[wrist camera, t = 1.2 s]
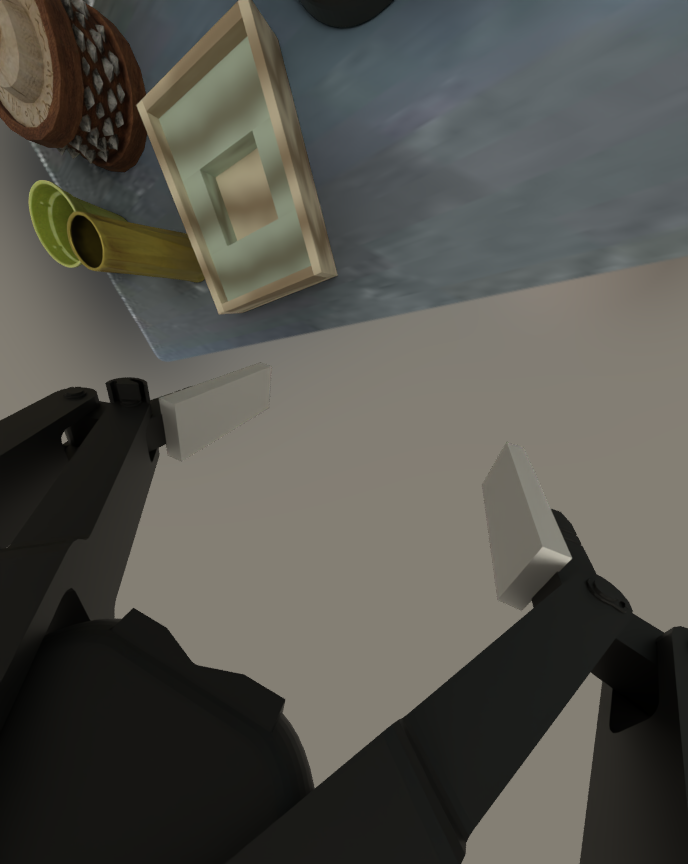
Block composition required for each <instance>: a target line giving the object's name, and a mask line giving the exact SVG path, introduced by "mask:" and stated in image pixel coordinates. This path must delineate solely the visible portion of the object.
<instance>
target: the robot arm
mask: <svg viewBox="0 0 688 864" xmlns="http://www.w3.org/2000/svg"><path fill="white" fill-rule="evenodd" d="M392 1H393V0H300V2H301V3H302V5H303V6H304V7H305V9H306V10H307V11H308V12H309V13H310V14H311V15H312V16H313V17H315V18H316V19H317V20H319V21H320V22H322V23H324V24H327V25H330V26H333V27H351V26H355V25H358V24H361V23H363V22H365V21H368V20H369V19H371V18H373V17H374V16H376V15H377V14H378V13H380V12H381V11H382V10H383V9H384V8H386V7H387V6H388V5H389V4H390V3H391V2H392ZM271 369H272V366H270V365H267V364H263V363H258V364H255V365H252V366H249V367H246V368H243V369H241V370H238V371H235V372H232V373H229V374H226V375H223V376H220V377H218V378H215V379H212V380H209V381H206V382H203V383H200V384H197V385H195V386H190V387H187V388H184V389H182V390H179V391H176V392H174V393H170V394H167V395H164V396H162V397H159V398H156V399H153V400H150V397H149V391H148V386H147V382H146V381H145V380H142V379H139V378H118V379H113V380H110V381H108V382H106V387H107V391H108V395H109V399H110V403H107V402H101V401H99V399H98V395H97V392H96V391H95V390H94V389H90V388H81V387H75V388H74V387H70V388H68V389H63V390H60V391H57V392H55V393H53V394H51V395H49V396H47V397H45V398H43V399H41V400H39V401H37V402H35V403H34V404H31V405H29V406H28V407H26V408H24V409H22V410H20V411H18V412H16V413H14V414H13V415H10V416H8V417H7V418H4V419H2V420H0V864H461V863H462V861H463V859H464V856H465V853H466V842H467V840H468V838H469V836H470V834H471V833H472V831H473V830H474V828H475V827H476V826H477V824H478V823H479V822H480V820H481V819H482V817H483V816H484V815H485V814H486V812H487V811H488V809H489V808H490V807H491V805H492V804H493V803H494V801H495V800H496V799H497V797H498V796H499V795H500V793H501V792H502V791H503V789H504V788H505V786H506V785H507V784H508V782H509V781H510V780H511V778H512V777H513V776H514V774H515V773H516V772H517V770H518V769H519V768H520V766H521V765H522V764H523V762H524V761H525V760H526V758H527V757H528V756H529V754H530V753H531V751H532V750H533V749H534V747H535V746H536V745H537V743H538V742H539V741H540V739H541V738H542V737H543V735H544V734H545V733H546V731H547V730H548V729H549V727H550V726H551V725H552V723H553V722H554V721H555V719H556V718H557V717H558V715H559V714H560V713H561V711H562V710H563V708H564V707H565V706H566V704H567V703H568V702H569V700H570V699H571V698H572V696H573V695H574V694H575V692H576V691H577V690H578V688H579V687H580V685H581V684H582V683H583V681H584V680H585V679H586V677H587V676H588V675H589V673H590V672H591V673H592V674H594V675H595V676H596V677H598V678H599V679H601V680H602V689H601V697H600V705H599V714H598V721H597V730H596V738H595V745H594V753H593V762H592V770H591V777H590V786H589V794H588V802H587V810H586V818H585V826H584V835H583V842H582V851H581V858H580V864H688V628H684V627H681V626H679V627H673V628H672V629H670V630H668V631H667V632H665V633H664V632H662V631H661V630H659V629H657V628H656V627H654V626H652V625H651V624H649V623H647V622H646V621H644V620H642V619H641V618H639V617H638V616H636V615H634V614H633V613H632V611H633V610H632V608H631V606H630V604H629V602H628V600H627V599H626V598H625V597H624V595H623V594H622V593H621V592H620V591H619V590H618V589H617V588H616V587H615V586H614V585H612V584H611V583H610V582H608V581H607V580H605V579H604V578H602V577H601V576H599V575H597V574H596V572H595V570H594V568H593V566H592V564H591V562H590V560H589V558H588V556H587V554H586V552H585V550H584V548H583V546H581V542H580V540H579V538H578V537H577V536H576V535H577V534H576V532H575V530H574V528H573V526H572V524H571V523H570V522H569V521H568V520H567V518H566V517H565V516H564V515H563V514H562V513H561V512H559V511H556V510H553V509H551V508H550V507H549V504H548V502H547V500H546V497H545V495H544V493H543V491H542V488H541V486H540V484H539V482H538V479H537V477H536V475H535V472H534V470H533V468H532V465H531V463H530V461H529V459H528V456H527V454H526V452H525V450H524V447H521V446H518V445H515V444H512V443H509V442H506V444H505V446H504V448H503V449H502V451H501V453H500V454H499V456H498V458H497V460H496V461H495V463H494V465H493V466H492V468H491V470H490V472H489V473H488V475H487V477H486V479H485V480H484V482H483V484H482V489H483V496H484V503H485V511H486V518H487V526H488V533H489V541H490V548H491V555H492V563H493V570H494V578H495V585H496V592H497V599H498V600H499V601H501V602H503V603H506V604H508V605H510V606H512V607H515V608H517V609H519V610H523V609H524V608H525V607H526V606H527V605H528V603H530V602H531V601H532V603H533V607H534V608H533V609H532V610H531V611H530V612H528V614H526V615H525V616H524V617H523V618H521V619H520V620H519V621H518V622H517V623H515V624H514V625H513V626H512V627H511V628H510V629H508V630H507V631H506V632H505V633H504V634H502V635H501V636H500V637H499V638H498V639H496V640H495V641H494V642H493V643H492V644H491V645H489V646H488V647H487V648H486V649H485V650H483V651H482V652H481V653H480V654H479V655H477V656H476V657H475V658H474V659H473V660H472V661H470V662H469V663H468V664H467V665H466V666H465V667H463V668H462V669H461V670H460V671H459V672H457V673H456V674H455V675H454V676H453V677H451V678H450V679H449V680H448V681H447V682H445V683H444V684H443V685H442V686H441V687H439V688H438V689H437V690H436V691H435V692H434V693H432V694H431V695H430V696H429V697H428V698H426V699H425V700H424V701H423V702H422V703H420V704H419V705H418V706H417V707H416V708H415V709H413V710H412V711H411V712H410V713H409V714H407V715H406V716H405V717H403V718H402V719H399V720H398V721H396V722H395V723H393V724H392V725H391V726H390V727H388V728H387V729H386V730H385V731H383V732H382V733H381V734H380V735H379V736H377V737H376V738H375V739H374V740H373V741H372V742H370V743H369V744H368V745H367V746H365V747H364V748H363V749H362V750H361V751H360V752H358V753H357V754H356V755H355V756H353V757H352V758H351V759H350V760H349V761H347V762H346V763H345V764H344V765H343V766H341V767H340V768H339V769H338V770H337V771H335V772H334V773H333V774H332V775H331V776H330V777H328V778H327V779H326V780H325V781H323V783H321V784H320V785H319V786H317V787H316V788H314V784H313V780H312V774H311V770H310V766H309V763H308V760H307V757H306V754H305V751H304V748H303V746H302V744H301V742H300V739H299V737H298V735H297V733H296V732H295V730H294V728H293V727H292V725H291V723H290V722H289V721H288V720H287V718H286V717H285V716H284V715H283V713H282V712H283V708H284V703H285V699H284V698H282V697H280V696H279V695H277V694H275V693H274V692H272V691H270V690H269V689H267V688H265V687H264V686H262V685H260V684H259V683H257V682H256V681H254V680H252V679H251V678H249V677H247V676H246V675H243V674H238V673H233V672H228V671H223V670H218V669H213V668H208V667H203V666H198V665H196V664H194V663H193V662H192V661H191V660H190V659H189V657H188V656H187V654H186V653H185V652H184V650H183V649H182V648H181V646H180V645H179V644H178V642H177V641H176V640H175V638H174V637H173V636H172V634H171V633H170V632H169V630H168V629H167V628H166V627H164V626H162V625H161V624H159V623H158V622H156V621H154V620H152V619H151V618H149V617H148V616H146V615H144V614H143V613H141V612H139V611H138V610H136V609H134V608H133V609H132V610H131V611H130V612H129V613H128V614H127V615H126V616H124V617H123V618H122V619H114V607H115V601H116V597H117V594H118V590H119V587H120V584H121V581H122V577H123V574H124V571H125V567H126V564H127V561H128V557H129V554H130V551H131V547H132V544H133V541H134V538H135V534H136V531H137V528H138V524H139V521H140V518H141V514H142V511H143V508H144V504H145V501H146V498H147V494H148V491H149V488H150V484H151V481H152V478H153V475H154V471H155V468H156V465H157V461H158V458H159V447H161V446H163V445H165V444H166V447H167V454H168V456H170V457H173V458H175V459H177V460H179V461H183V460H185V459H186V458H188V457H190V456H191V455H193V454H195V453H196V452H198V451H200V450H201V449H203V448H205V447H206V446H208V445H210V444H211V443H213V442H215V441H216V440H218V439H219V438H221V437H223V436H224V435H226V434H228V433H229V432H231V431H232V430H234V429H236V428H237V427H239V426H241V425H242V424H244V423H245V422H247V421H249V420H251V419H252V418H254V417H255V416H257V415H259V414H260V413H262V412H263V411H265V410H267V409H269V402H270V385H271ZM64 431H65V434H66V436H67V439H68V441H67V442H66V443H64V444H62V441H61V437H62V434H63V432H64Z"/></svg>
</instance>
